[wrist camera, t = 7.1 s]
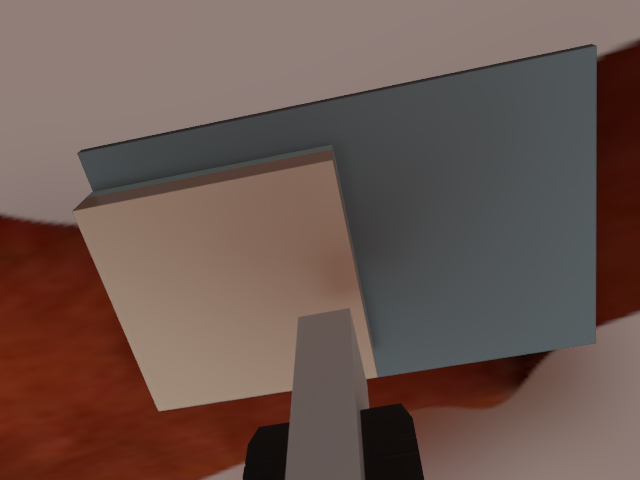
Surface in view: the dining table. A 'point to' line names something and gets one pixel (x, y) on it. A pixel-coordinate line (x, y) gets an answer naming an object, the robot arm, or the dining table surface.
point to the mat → (438, 201)
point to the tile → (226, 272)
